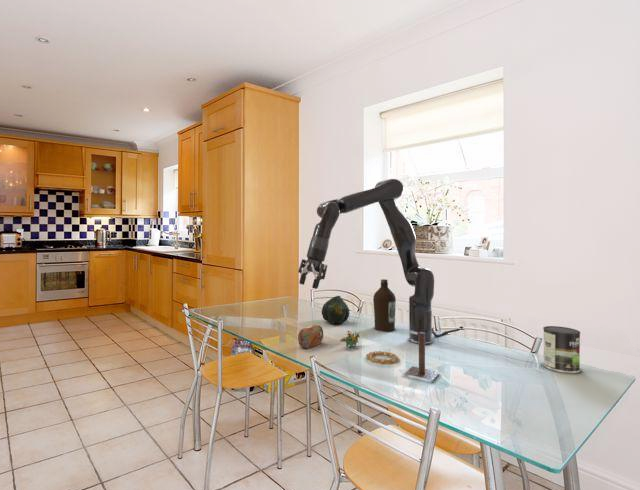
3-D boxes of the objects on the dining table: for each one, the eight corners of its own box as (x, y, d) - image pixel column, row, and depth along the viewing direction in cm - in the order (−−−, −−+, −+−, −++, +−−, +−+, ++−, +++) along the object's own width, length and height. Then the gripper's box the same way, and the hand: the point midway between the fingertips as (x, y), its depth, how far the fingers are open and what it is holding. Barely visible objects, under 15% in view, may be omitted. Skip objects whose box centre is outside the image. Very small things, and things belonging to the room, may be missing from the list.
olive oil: (369, 329, 197) (369, 279, 197) (379, 325, 205) (379, 277, 204) (390, 333, 190) (389, 281, 189) (399, 328, 197) (399, 279, 197)
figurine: (362, 348, 168) (362, 329, 167) (342, 353, 162) (342, 333, 161) (357, 346, 170) (356, 327, 170) (336, 351, 164) (336, 331, 164)
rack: (412, 369, 142) (412, 328, 142) (439, 375, 137) (439, 332, 136) (404, 377, 136) (404, 333, 135) (432, 383, 130) (432, 338, 129)
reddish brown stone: (302, 350, 166) (302, 330, 166) (296, 348, 169) (296, 329, 168) (324, 342, 176) (323, 324, 176) (318, 341, 179) (318, 322, 178)
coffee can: (585, 370, 139) (585, 330, 139) (571, 375, 134) (571, 334, 134) (551, 361, 148) (552, 324, 148) (537, 366, 143) (537, 328, 143)
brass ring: (373, 354, 159) (373, 348, 159) (403, 360, 152) (403, 354, 152) (361, 362, 150) (361, 356, 150) (392, 369, 143) (392, 363, 143)
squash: (317, 315, 207) (336, 294, 205) (316, 310, 221) (334, 290, 220) (338, 333, 205) (357, 312, 203) (335, 327, 219) (354, 307, 218)
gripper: (336, 252, 158) (326, 291, 157) (313, 248, 170) (304, 284, 169) (322, 248, 154) (312, 288, 153) (300, 244, 167) (290, 281, 166)
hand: (307, 286), depth 161 cm, fingers open, 8 cm apart
